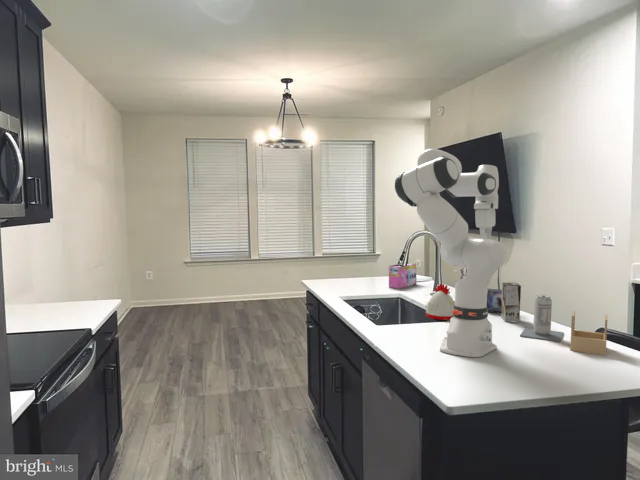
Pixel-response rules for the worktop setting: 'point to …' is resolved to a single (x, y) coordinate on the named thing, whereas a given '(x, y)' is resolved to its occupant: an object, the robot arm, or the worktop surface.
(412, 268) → the gum box
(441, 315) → the kitchen timer
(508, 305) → the coffee box
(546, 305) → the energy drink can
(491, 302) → the small box
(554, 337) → the mat
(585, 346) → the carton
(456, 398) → the worktop surface
